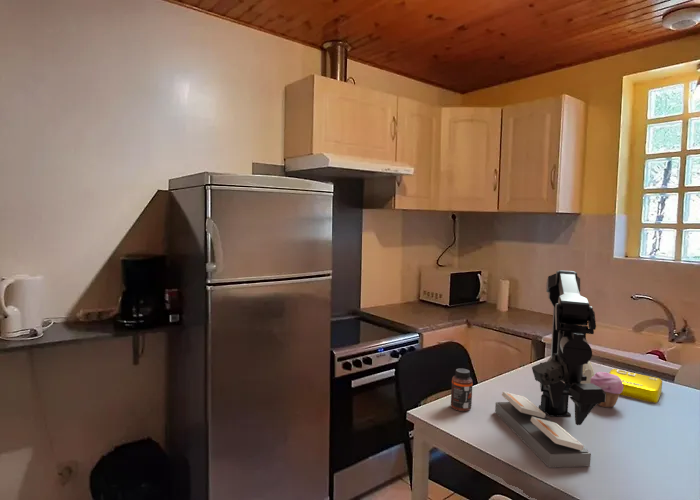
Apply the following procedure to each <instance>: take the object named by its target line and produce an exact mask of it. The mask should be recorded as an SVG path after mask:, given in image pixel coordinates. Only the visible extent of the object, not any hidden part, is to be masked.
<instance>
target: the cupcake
mask: <svg viewBox="0 0 700 500" xmlns="http://www.w3.org/2000/svg"><path fill="white" fill-rule="evenodd" d="M594 374H595V375H594V376H593V377H592V378H591V381H590V383H593V384H594V385H596V386H598V387H599V388H601V389H603V390H604V392H605V393H606V399H605V402H601V403H600V404H597V405H598V406H600V407H604V408H612V407H614V406H616V404H617V402H618V399H619V397H620V395H619V394H621V393H622V391H623V383H622V381H621V379H620V378H619V377H618V376H616V375H614V374H610V373H609V372H608V371H607V372H606V371H605V372H604V371H597V372H595V373H594Z"/></svg>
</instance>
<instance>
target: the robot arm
mask: <svg viewBox="0 0 700 500" xmlns="http://www.w3.org/2000/svg"><path fill="white" fill-rule="evenodd" d="M545 284H546V286H545V290H546V291H545V292H546V293H547V294H548V295H547V298H548V299H549V302H550V304H551V305H552V307H553V310H552V323H551V325H552V327H551V328H552V329H551V343H550V344H551V345H550V348H551V349H550V357H549V358H548V360H547V361H543V362H540V363H539V364H535V365H533V366H532V367H531V370H532V373H533V377H534V380H535V382H538V383H539V388H540V392H542V394H541V396H540V405H538V408H539V409H540V410H541V411H543V412H544V413H545V414H547V416H549V417H571V416H572V413H570V412H569V399H570V400H571V401H572V402H573V404H574V421H575V425H576V426H581V425H582V424H583V422H584V421H585V420H586V418H587V417H588V415H589V414H590V413H591V411H592V410H593V409H594V408H595V407H596V406H597V405H598V404H600V403H601V402H605V399H606V393H605V392H604V390H603V389H601V388H599V387H598V386H596V385H594V384H593V383H589V384H581V383H580V382H581V381H586V380H587V377H586V376H585V375H583V364H588V362H589V361H590V360H592V357H593V350H592V347H591V346H590V344H589V343H588V340H587V334H588V335H589V334H590V335H594V333H595V330H596V329H597V322H596V313H595V310H594V308H593V306H592V305H591V306H590V302H589V300H588V298H587V297H584V296H582V295H581V293H580V292H581V277H579V276H578V272H576V271H574V270H561V269H559V270H556V273H553V274H551V275H548V276H547V279H546V283H545ZM590 362H591V361H590Z"/></svg>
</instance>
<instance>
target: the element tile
mask: <svg viewBox="0 0 700 500" xmlns="http://www.w3.org/2000/svg"><path fill="white" fill-rule="evenodd" d="M608 373H610V374H614V375H616V376H618V377H619V378H620V379H621V381H622V383H623V391H622V393H621V394H619V396H623V397H624V396H625V397H629V398H632V399H636V400H640V401H643V402H648V403H655V404H656V403H658V402H659V401H660V397H661V394H662V389H663V380H662V379H661V378H659V377H654V376H649V375H645V374H639V373H636V372H630V371H627V370H625V369H624V370H622V369H618V368H617V369H616V368H613V369H610V371H609V372H608Z"/></svg>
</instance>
